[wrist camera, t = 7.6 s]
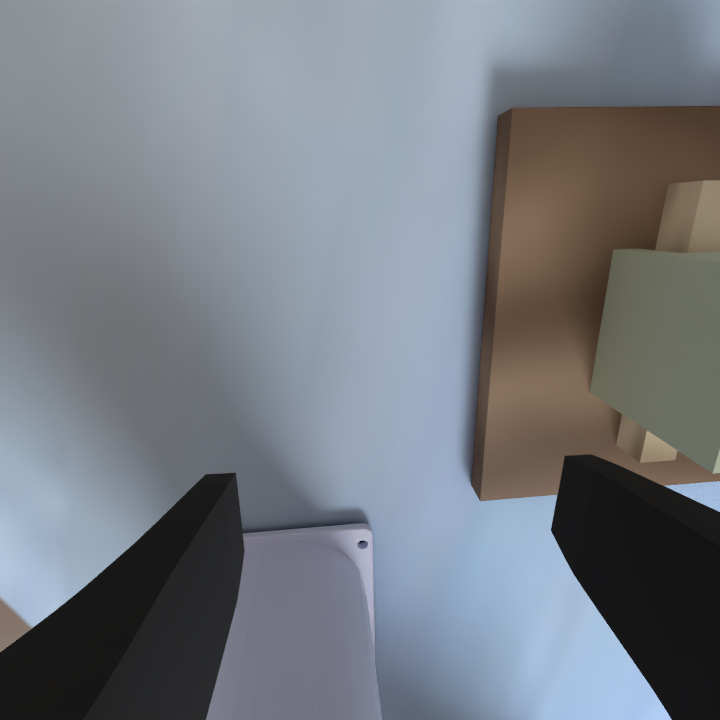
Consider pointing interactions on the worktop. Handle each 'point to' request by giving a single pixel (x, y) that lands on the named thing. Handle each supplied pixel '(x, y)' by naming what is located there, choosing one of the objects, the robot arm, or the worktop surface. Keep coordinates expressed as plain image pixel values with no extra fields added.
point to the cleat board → (580, 280)
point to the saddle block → (664, 348)
